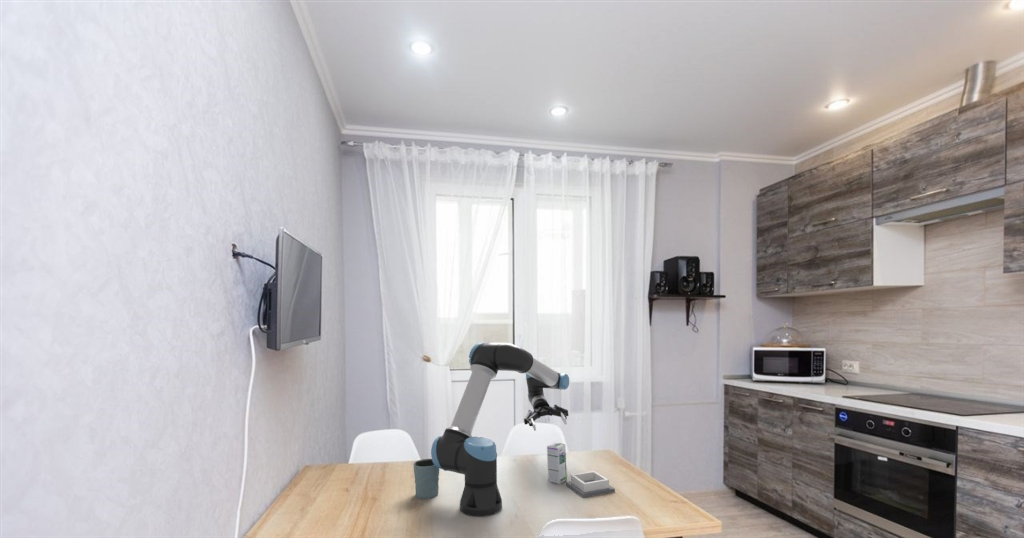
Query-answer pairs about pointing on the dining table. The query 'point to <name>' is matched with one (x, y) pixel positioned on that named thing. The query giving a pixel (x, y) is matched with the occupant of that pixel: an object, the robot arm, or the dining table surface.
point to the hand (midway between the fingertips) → (550, 424)
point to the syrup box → (556, 463)
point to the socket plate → (589, 484)
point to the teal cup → (426, 479)
